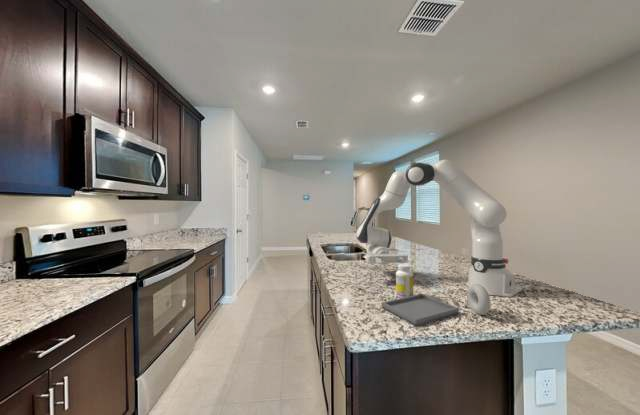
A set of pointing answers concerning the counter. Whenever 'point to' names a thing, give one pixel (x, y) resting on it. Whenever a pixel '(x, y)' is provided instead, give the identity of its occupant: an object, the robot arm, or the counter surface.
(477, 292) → the donut
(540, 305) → the counter surface
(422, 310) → the drying tray
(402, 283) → the supplement bottle
